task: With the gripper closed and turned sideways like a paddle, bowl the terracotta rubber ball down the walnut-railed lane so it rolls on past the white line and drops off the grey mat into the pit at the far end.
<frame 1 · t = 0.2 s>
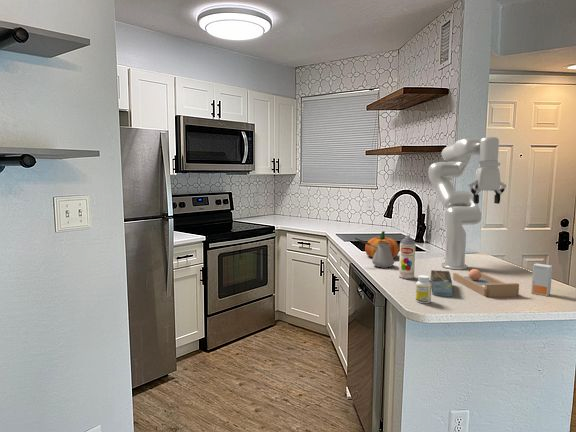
hand: (486, 203, 186), 35 cm above the counter, tool pointing down, fingers open, 9 cm apart
beverage carton: (440, 290, 173), on the counter
coffee pot: (373, 266, 215), on the counter
lane: (483, 287, 176), on the counter
supplement bottle: (423, 302, 157), on the counter
ball: (474, 274, 183), point 4 cm above the counter, touching lane
aerosol can: (406, 278, 192), on the counter
pumpkin: (381, 257, 238), on the counter
skincare box: (540, 294, 167), on the counter
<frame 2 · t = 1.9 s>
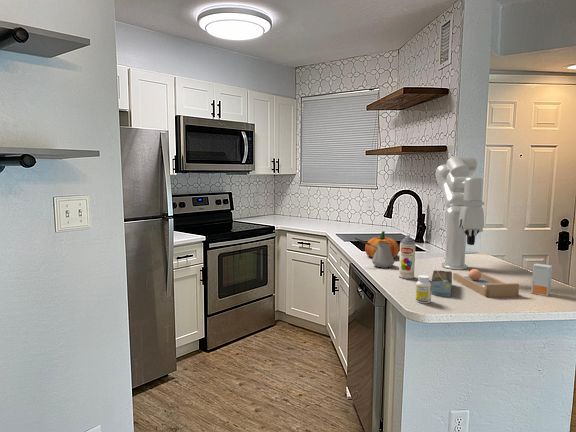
hand: (470, 244, 188), 16 cm above the counter, tool pointing down, fingers closed
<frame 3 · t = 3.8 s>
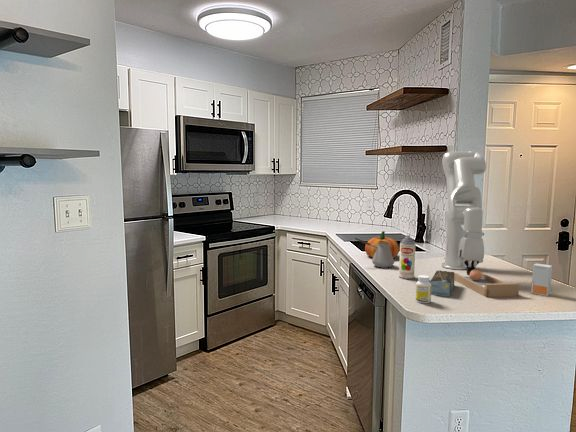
hand: (470, 275, 187), 3 cm above the counter, tool pointing down, fingers closed
ball: (475, 275, 182), point 4 cm above the counter, tilted 8°, touching gripper, lane
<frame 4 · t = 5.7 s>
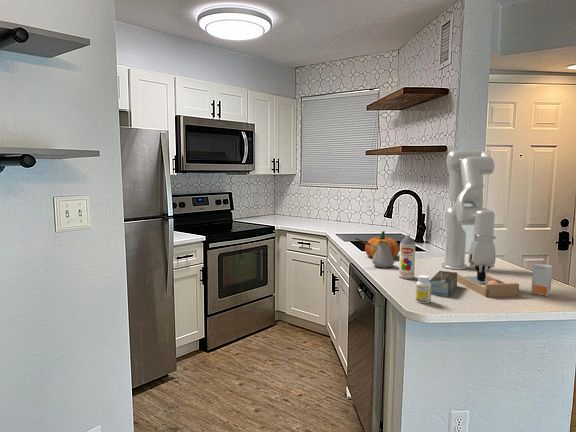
hand: (481, 280, 178), 2 cm above the counter, tool pointing down, fingers closed
ball: (493, 286, 168), point 2 cm above the counter, tilted 7°
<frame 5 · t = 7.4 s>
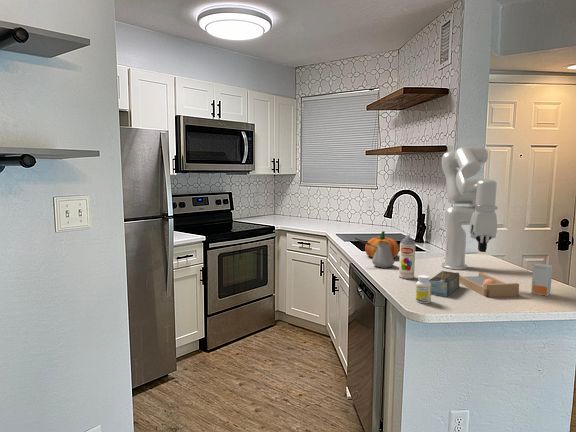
hand: (482, 251, 177), 15 cm above the counter, tool pointing down, fingers closed
ball: (489, 284, 171), point 2 cm above the counter, tilted 72°
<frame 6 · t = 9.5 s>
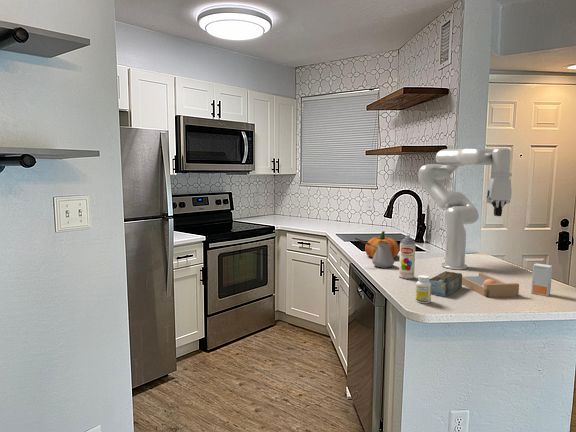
hand: (497, 215, 189), 29 cm above the counter, tool pointing down, fingers closed
ball: (489, 285, 171), point 2 cm above the counter, tilted 65°
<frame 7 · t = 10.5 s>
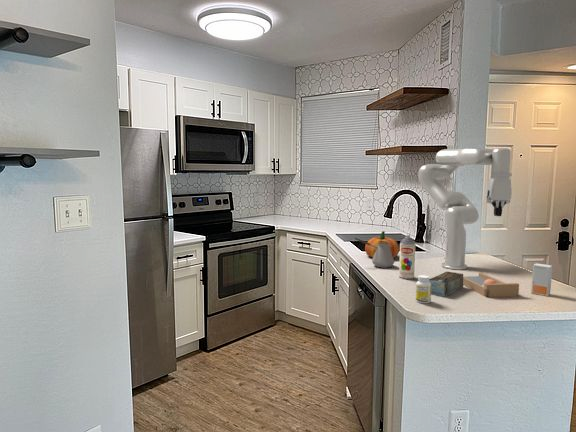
hand: (497, 215, 189), 29 cm above the counter, tool pointing down, fingers closed
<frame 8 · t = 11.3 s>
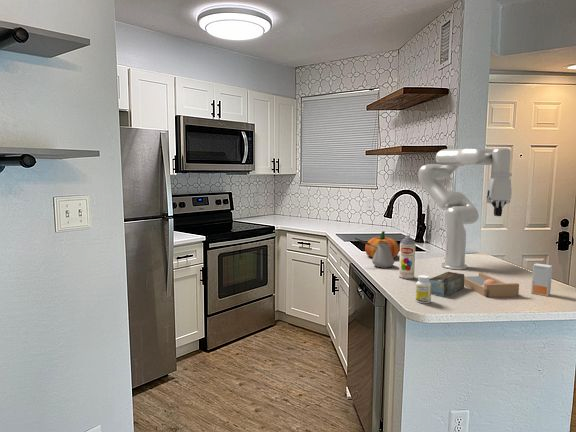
hand: (497, 215, 189), 29 cm above the counter, tool pointing down, fingers closed
at the end: ball inside the target area (2.4 cm from its centre), point 2.5 cm above the counter; ball point 2.5 cm above the counter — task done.
